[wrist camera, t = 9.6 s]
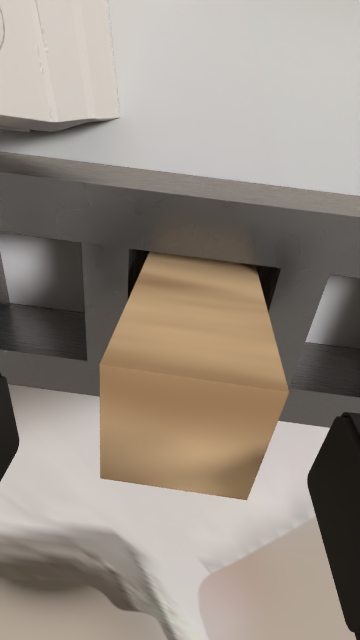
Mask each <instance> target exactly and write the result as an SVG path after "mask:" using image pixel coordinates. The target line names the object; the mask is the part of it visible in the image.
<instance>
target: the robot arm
mask: <svg viewBox="0 0 360 640" xmlns="http://www.w3.org/2000/svg"><path fill="white" fill-rule="evenodd" d="M18 446H19V436H18V431H17V426H16V421H15V417H14V412H13V407H12V402H11V397H10V393H9V388H8V383H7V379H6V377H5V376H2V375H1V372H0V481H1V479H2V478H3V476H4V474H5V472H6V470H7V469H8V467H9V465H10V463H11V461H12V459H13V458H14V456H15V454H16V452H17V450H18ZM307 482H308V489H309V492H310V496H311V499H312V503H313V507H314V510H315V514H316V517H317V521H318V525H319V528H320V532H321V535H322V539H323V543H324V546H325V550H326V553H327V557H328V561H329V564H330V568H331V572H332V575H333V579H334V582H335V586H336V590H337V593H338V597H339V600H340V604H341V607H342V611H343V615H344V618H345V622H346V624H347V626H348V628H349V630H350V631H352V632H354V633H355V636H356V639H357V640H360V413H351V412H344V413H342V415H341V416H337V417H336V418H335V419H334V421H333V424H332V426H331V428H330V430H329V432H328V434H327V436H326V438H325V440H324V442H323V444H322V446H321V449H320V451H319V453H318V455H317V457H316V459H315V461H314V463H313V465H312V467H311V469H310V471H309V474H308V479H307Z"/></svg>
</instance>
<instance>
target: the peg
mask: <svg viewBox="0 0 360 640" xmlns="http://www.w3.org/2000/svg"><path fill="white" fill-rule="evenodd" d="M288 394H289V390H288V386H287V382H286V378H285V374H284V371H283V367H282V363H281V359H280V356H279V352H278V348H277V344H276V340H275V337H274V333H273V329H272V325H271V322H270V318H269V314H268V310H267V306H266V303H265V299H264V295H263V291H262V288H261V284H260V280H259V276H258V272H257V269H256V265H253V264H245V263H237V262H230V261H222V260H214V259H206V258H198V257H191V256H183V255H175V254H167V253H159V252H152V251H150V252H149V254H148V256H147V259H146V261H145V263H144V265H143V268H142V270H141V272H140V274H139V277H138V279H137V281H136V283H135V286H134V288H133V290H132V292H131V295H130V297H129V299H128V301H127V304H126V306H125V308H124V310H123V313H122V315H121V317H120V320H119V322H118V324H117V326H116V329H115V331H114V333H113V335H112V338H111V340H110V342H109V344H108V347H107V349H106V351H105V353H104V356H103V358H102V360H101V362H100V478H102V479H109V480H115V481H122V482H129V483H136V484H142V485H149V486H156V487H162V488H169V489H176V490H182V491H189V492H196V493H203V494H209V495H216V496H223V497H229V498H236V499H243V500H247V498H248V496H249V493H250V491H251V488H252V486H253V483H254V481H255V478H256V475H257V473H258V470H259V468H260V465H261V463H262V460H263V458H264V455H265V453H266V450H267V447H268V445H269V442H270V440H271V437H272V435H273V432H274V430H275V427H276V425H277V422H278V419H279V417H280V414H281V412H282V409H283V407H284V404H285V402H286V399H287V397H288Z"/></svg>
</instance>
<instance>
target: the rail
mask: <svg viewBox="0 0 360 640" xmlns="http://www.w3.org/2000/svg"><path fill="white" fill-rule="evenodd" d="M0 232H4V233H11V234H19V235H27V236H35V237H43V238H50V239H58V240H66V241H74V242H81V247H82V266H83V285H84V305H85V313H79V312H72V311H64V310H57V309H49V308H42V307H34V306H26V305H19V304H11V303H9V297H8V292H7V286H6V281H5V276H4V270H3V265H2V259H1V254H0V372H1V375H2V376H5V377H6V379H7V383H8V384H12V385H20V386H27V387H34V388H42V389H49V390H56V391H64V392H71V393H78V394H86V395H93V396H100V362H101V360H102V358H103V356H104V353H105V351H106V349H107V347H108V344H109V342H110V340H111V338H112V335H113V333H114V331H115V329H116V326H117V324H118V322H119V320H120V317H121V315H122V313H123V310H124V308H125V306H126V304H127V301H128V299H129V297H130V295H131V292H132V290H133V288H134V286H135V283H136V281H137V279H138V277H139V274H140V272H141V270H142V268H143V265H144V261H145V251H152V252H159V253H167V254H175V255H183V256H191V257H198V258H206V259H214V260H222V261H230V262H237V263H245V264H253V265H259V269H258V276H259V280H260V284H261V288H262V291H263V295H264V299H265V303H266V306H267V310H268V314H269V318H270V322H271V325H272V329H273V333H274V337H275V340H276V344H277V348H278V352H279V356H280V359H281V363H282V367H283V371H284V374H285V378H286V382H287V386H288V390H289V394H288V397H287V399H286V402H285V404H284V407H283V409H282V412H281V414H280V417H279V419H278V421H285V422H292V423H299V424H307V425H314V426H321V427H329V428H331V426H332V424H333V421H334V419H335V418H336V417H337V416H341V415H342V413H344V412H351V413H360V349H352V348H345V347H337V346H330V345H322V344H315V343H307V342H305V341H306V338H307V335H308V332H309V330H310V327H311V324H312V321H313V319H314V316H315V313H316V310H317V308H318V305H319V302H320V299H321V297H322V294H323V291H324V288H325V286H326V283H327V280H328V277H329V275H330V274H331V275H339V276H346V277H354V278H360V196H353V195H345V194H337V193H329V192H321V191H313V190H305V189H297V188H289V187H281V186H273V185H265V184H257V183H249V182H241V181H232V180H224V179H216V178H208V177H200V176H192V175H184V174H176V173H168V172H160V171H152V170H144V169H136V168H128V167H120V166H112V165H104V164H96V163H88V162H80V161H72V160H64V159H56V158H48V157H40V156H31V155H23V154H15V153H7V152H0Z"/></svg>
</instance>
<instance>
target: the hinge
mask: <svg viewBox="0 0 360 640" xmlns="http://www.w3.org/2000/svg"><path fill="white" fill-rule="evenodd" d="M117 118H120V111H119V102H118V93H117V83H116V74H115V65H114V55H113V46H112V37H111V27H110V18H109V8H108V0H0V129H3V130H13V131H23V132H30V130H29V129H32V130H41V131H50V132H56V131H59V130H63V129H66V128H69V127H73V126H76V125H80V124H83V123H87V122H96V121H109V120H113V119H117Z"/></svg>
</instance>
